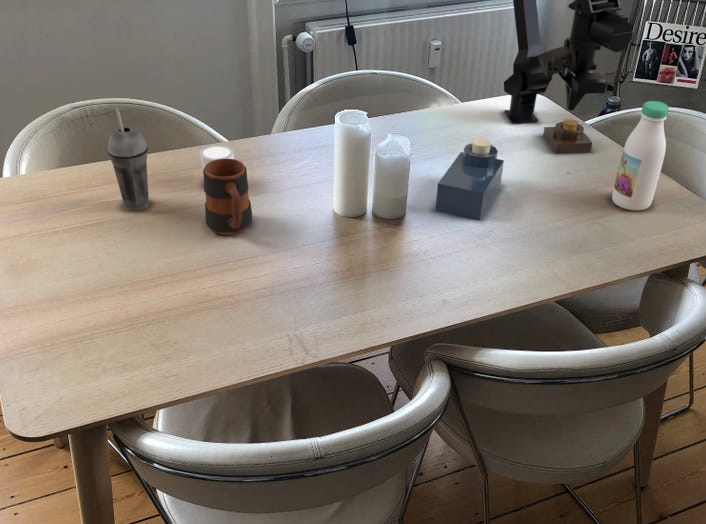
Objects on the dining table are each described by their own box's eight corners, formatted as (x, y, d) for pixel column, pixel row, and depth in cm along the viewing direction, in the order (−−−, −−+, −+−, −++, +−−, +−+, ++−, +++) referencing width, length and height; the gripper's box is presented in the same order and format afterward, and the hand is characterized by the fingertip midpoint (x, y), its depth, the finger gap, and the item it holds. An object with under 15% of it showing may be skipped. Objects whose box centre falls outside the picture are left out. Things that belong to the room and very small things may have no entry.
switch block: (542, 136, 189) (545, 119, 186) (576, 134, 189) (579, 118, 187) (555, 153, 182) (558, 136, 179) (590, 152, 183) (594, 135, 180)
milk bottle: (647, 194, 168) (673, 98, 155) (654, 212, 162) (682, 114, 149) (608, 191, 169) (631, 95, 156) (614, 210, 163) (638, 112, 150)
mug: (217, 249, 149) (212, 191, 142) (201, 217, 158) (195, 161, 150) (263, 240, 152) (260, 182, 144) (245, 210, 160) (241, 153, 153)
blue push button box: (459, 175, 173) (463, 139, 168) (501, 183, 170) (507, 147, 165) (435, 210, 161) (438, 172, 156) (479, 220, 159) (485, 182, 154)
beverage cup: (162, 200, 163) (148, 100, 150) (143, 217, 157) (127, 116, 145) (130, 193, 164) (113, 95, 152) (110, 210, 159) (91, 110, 146)
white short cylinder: (474, 146, 166) (475, 136, 165) (491, 149, 165) (493, 140, 164) (469, 153, 164) (470, 144, 163) (486, 157, 163) (488, 147, 161)
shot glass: (243, 184, 168) (241, 152, 164) (217, 195, 164) (214, 163, 160) (221, 173, 172) (218, 141, 167) (195, 184, 168) (191, 152, 163)
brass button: (559, 126, 184) (561, 118, 183) (573, 125, 185) (575, 118, 184) (564, 132, 182) (566, 124, 181) (578, 131, 182) (580, 124, 181)
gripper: (533, 22, 176) (522, 94, 186) (561, 53, 162) (548, 129, 172) (583, 21, 178) (569, 92, 188) (616, 52, 163) (599, 127, 173)
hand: (570, 109), depth 180 cm, fingers closed
